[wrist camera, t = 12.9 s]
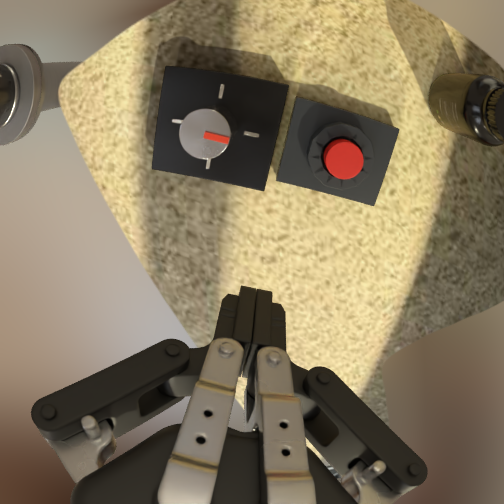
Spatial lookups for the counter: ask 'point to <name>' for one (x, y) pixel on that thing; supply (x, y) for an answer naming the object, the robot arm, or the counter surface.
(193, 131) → the stove knob
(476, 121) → the supplement bottle
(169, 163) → the stove panel
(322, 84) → the counter surface
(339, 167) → the power button
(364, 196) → the button housing
